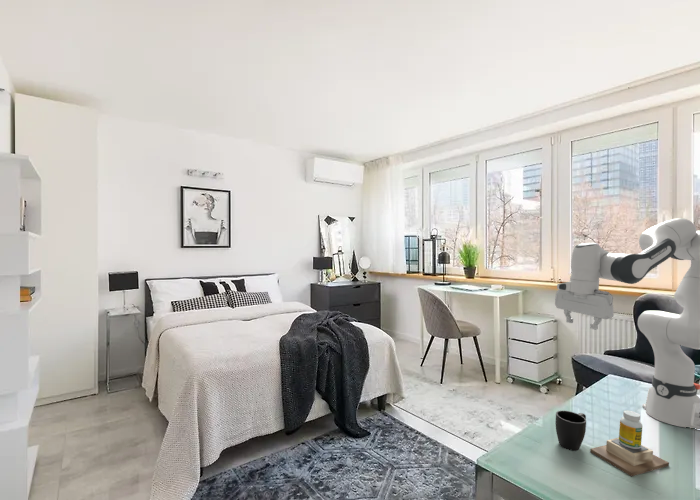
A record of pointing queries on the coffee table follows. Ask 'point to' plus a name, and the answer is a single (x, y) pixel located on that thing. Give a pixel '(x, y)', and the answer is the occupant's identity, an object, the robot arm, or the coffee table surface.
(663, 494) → the coffee table surface
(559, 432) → the mug
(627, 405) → the coffee table surface
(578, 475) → the coffee table surface
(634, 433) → the supplement bottle
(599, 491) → the coffee table surface
